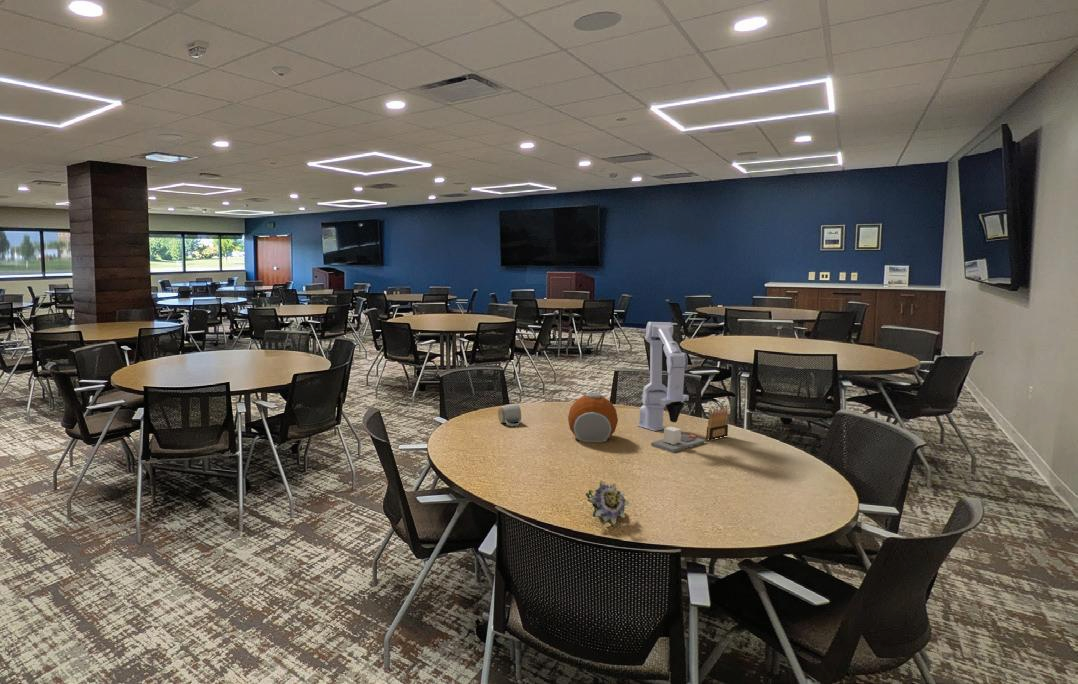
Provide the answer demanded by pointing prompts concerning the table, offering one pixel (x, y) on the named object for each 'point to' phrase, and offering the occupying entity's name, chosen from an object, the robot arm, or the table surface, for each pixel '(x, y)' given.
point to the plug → (672, 435)
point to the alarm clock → (592, 418)
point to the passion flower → (608, 503)
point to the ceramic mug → (510, 414)
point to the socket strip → (684, 443)
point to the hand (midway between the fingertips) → (673, 421)
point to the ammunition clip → (717, 424)
